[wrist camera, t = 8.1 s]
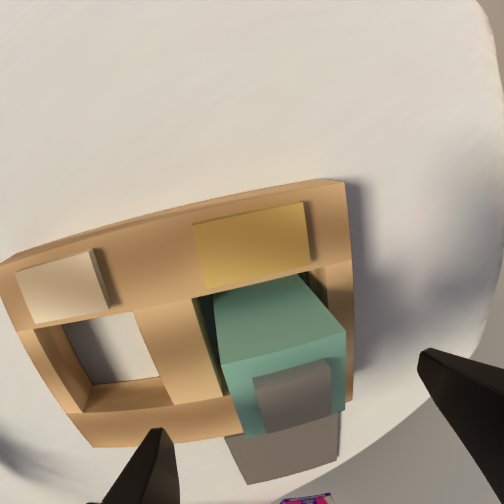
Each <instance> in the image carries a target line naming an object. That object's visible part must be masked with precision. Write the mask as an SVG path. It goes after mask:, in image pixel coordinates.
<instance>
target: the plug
mask: <svg viewBox="0 0 504 504" xmlns="http://www.w3.org/2000/svg"><path fill="white" fill-rule="evenodd" d="M212 297H213V306H214V315H215V324H216V332H217V340H218V348H219V356H220V363H221V367H222V370H223V374H224V377H225V380H226V383H227V386H228V389H229V392H230V395H231V398H232V400H233V403H234V406H235V409H236V412H237V415H238V418H239V420H240V423H241V426H242V429H243V432H244V434H245V437H246V439H247V438H252V437H256V436H260V435H265V434H269V433H273V432H277V431H281V430H285V429H288V428H292V427H295V426H299V425H302V424H305V423H309V422H312V421H315V420H318V419H321V418H324V417H327V416H330V415H332V414H335V413H338V412H341V411H343V410H345V396H346V330H345V329H344V328H343V327H342V326H341V325H340V323H339V322H338V321H337V320H336V319H335V317H334V316H333V315H332V314H331V313H330V312H329V310H328V309H327V308H326V307H325V306H324V305H323V303H322V302H321V301H320V300H319V299H318V297H317V296H316V295H315V294H314V293H313V292H312V291H311V289H310V288H309V287H308V286H307V285H306V284H305V282H304V281H303V280H302V279H301V278H300V277H299V275H298V274H293V275H289V276H285V277H281V278H277V279H273V280H269V281H265V282H261V283H256V284H252V285H248V286H244V287H239V288H235V289H231V290H226V291H222V292H218V293H213V294H212Z"/></svg>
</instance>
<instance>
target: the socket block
mask: <svg viewBox="0 0 504 504" xmlns="http://www.w3.org/2000/svg"><path fill="white" fill-rule="evenodd" d="M305 271H308V278H309V287H310V289H311V291H312V292H313V293H314V294H315V295H316V296H317V297H318V299H319V300H320V301H321V302H322V303H323V305H324V306H325V307H326V308H327V309H328V310H329V312H330V313H331V314H332V315H333V316H334V317H335V319H336V320H337V321H338V322H339V323H340V325H341V326H342V327H343V328H344V329H345V330H346V396H345V403H346V402H349V401H351V400H352V397H353V374H354V295H353V272H352V255H351V242H350V230H349V219H348V209H347V200H346V191H345V183H344V182H340V181H333V180H327V179H314V180H308V181H303V182H297V183H291V184H286V185H280V186H275V187H269V188H264V189H259V190H254V191H249V192H244V193H239V194H234V195H229V196H224V197H220V198H215V199H211V200H206V201H202V202H197V203H193V204H189V205H184V206H180V207H176V208H172V209H168V210H163V211H159V212H155V213H151V214H148V215H144V216H140V217H136V218H132V219H128V220H125V221H121V222H117V223H114V224H110V225H106V226H103V227H99V228H96V229H92V230H89V231H86V232H82V233H79V234H76V235H72V236H69V237H66V238H62V239H59V240H56V241H53V242H50V243H47V244H44V245H41V246H38V247H34V248H31V249H29V250H26V251H23V252H20V253H17V254H15V255H13V256H11V257H10V258H8V259H6V260H5V261H3V262H2V263H0V296H1V299H2V301H3V304H4V306H5V308H6V311H7V313H8V315H9V317H10V320H11V322H12V324H13V326H14V328H15V330H16V332H17V334H18V336H19V338H20V340H21V342H22V344H23V346H24V348H25V350H26V351H27V353H28V355H29V357H30V359H31V360H32V362H33V364H34V366H35V367H36V369H37V371H38V372H39V374H40V376H41V377H42V379H43V380H44V382H45V384H46V385H47V387H48V388H49V390H50V391H51V393H52V394H53V396H54V397H55V399H56V400H57V402H58V403H59V405H60V406H61V407H62V409H63V410H64V412H65V413H66V414H67V416H68V417H69V418H70V420H71V421H72V422H73V424H74V425H75V426H76V427H77V429H78V430H79V431H80V432H81V434H82V435H83V436H84V437H85V439H86V440H87V441H88V442H89V443H90V445H91V446H92V447H139V445H140V444H141V442H142V441H143V439H144V438H145V436H146V435H147V433H148V432H149V430H150V429H151V428H157V427H163V428H164V429H165V430H166V432H167V434H168V435H169V437H170V438H171V440H172V442H173V444H175V443H184V442H191V441H198V440H205V439H211V438H217V437H223V436H228V435H233V434H238V433H243V429H242V426H241V423H240V420H239V418H238V415H237V412H236V409H235V406H234V403H233V400H232V398H231V395H230V392H229V389H228V386H227V383H226V380H225V377H224V374H223V370H222V367H221V366H219V364H218V361H217V358H216V355H215V352H214V348H213V345H212V342H211V339H210V335H209V332H208V329H207V326H206V322H205V319H204V316H203V312H202V309H201V305H200V302H199V298H198V297H200V296H204V295H209V294H213V293H218V292H222V291H226V290H231V289H235V288H239V287H244V286H248V285H252V284H256V283H261V282H265V281H269V280H273V279H277V278H281V277H285V276H289V275H293V274H297V273H301V272H305ZM129 311H132V312H133V314H134V317H135V320H136V322H137V325H138V327H139V330H140V332H141V335H142V337H143V339H144V342H145V344H146V346H147V349H148V351H149V353H150V356H151V358H152V360H153V362H154V365H155V367H156V369H157V371H158V373H159V375H160V377H155V378H148V379H141V380H134V381H126V382H118V383H108V384H98V385H93V384H92V383H91V381H90V379H89V378H88V376H87V374H86V372H85V371H84V369H83V367H82V365H81V363H80V362H79V360H78V358H77V356H76V354H75V352H74V350H73V348H72V346H71V344H70V342H69V340H68V338H67V336H66V334H65V332H64V330H63V328H62V326H61V324H65V323H71V322H76V321H82V320H87V319H93V318H98V317H103V316H108V315H114V314H119V313H124V312H129Z"/></svg>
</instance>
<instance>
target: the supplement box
mask: <svg viewBox="0 0 504 504" xmlns="http://www.w3.org/2000/svg"><path fill="white" fill-rule="evenodd" d="M280 504H335V503H334V501H333V498H332V496H331V494H330V493H325V494H321V495H315V496H309V497H301V498H289V499H283V500H282V502H281V503H280Z"/></svg>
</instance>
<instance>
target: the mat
mask: <svg viewBox="0 0 504 504" xmlns="http://www.w3.org/2000/svg"><path fill="white" fill-rule="evenodd" d="M224 438H225V441H226V443H227V445H228V447H229V449H230V451H231V454H232V456H233V458H234V460H235V462H236V464H237V466H238V468H239V470H240V472H241V474H242V476H243V478H244V480H245V482H246V483H247V485H250V484H255V483H260V482H264V481H269V480H273V479H277V478H281V477H285V476H289V475H292V474H296V473H300V472H303V471H306V470H310V469H313V468H316V467H319V466H322V465H325V464H328V463H331V462H334V461H336V460H337V441H338V413H335V414H332V415H330V416H327V417H324V418H321V419H318V420H315V421H312V422H309V423H305V424H302V425H299V426H295V427H292V428H288V429H285V430H281V431H277V432H273V433H269V434H265V435H260V436H256V437H252V438H247V439H246V437H245V434H244V432H243V433H238V434H233V435H228V436H224Z"/></svg>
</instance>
